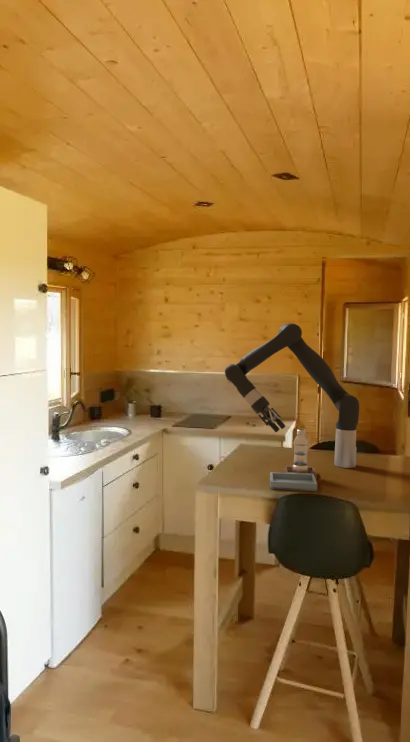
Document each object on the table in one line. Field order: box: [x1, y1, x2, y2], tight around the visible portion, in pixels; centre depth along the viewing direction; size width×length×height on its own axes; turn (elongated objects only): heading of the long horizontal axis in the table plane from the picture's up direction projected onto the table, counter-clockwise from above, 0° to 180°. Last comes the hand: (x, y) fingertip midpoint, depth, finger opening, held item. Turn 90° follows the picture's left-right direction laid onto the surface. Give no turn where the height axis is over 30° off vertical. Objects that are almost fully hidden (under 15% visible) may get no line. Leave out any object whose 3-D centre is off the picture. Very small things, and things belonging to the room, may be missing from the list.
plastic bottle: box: [292, 428, 310, 473], centre depth 240 cm, size 6×7×20 cm
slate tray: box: [269, 471, 318, 492], centre depth 227 cm, size 18×14×3 cm
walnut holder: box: [283, 465, 318, 481], centre depth 241 cm, size 13×12×2 cm
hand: (281, 429), depth 244 cm, fingers open, 8 cm apart
